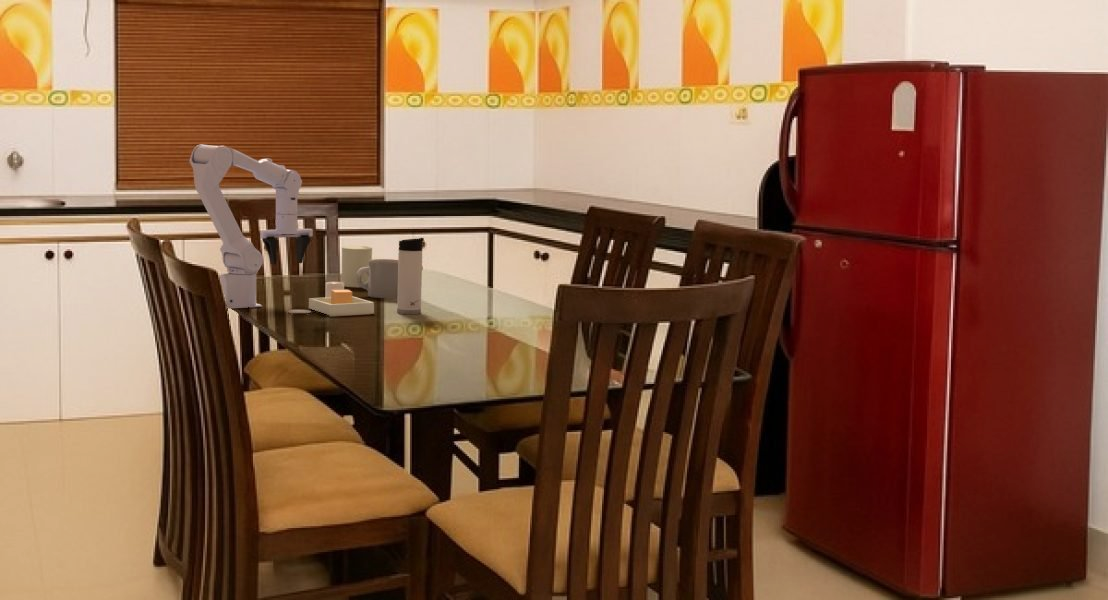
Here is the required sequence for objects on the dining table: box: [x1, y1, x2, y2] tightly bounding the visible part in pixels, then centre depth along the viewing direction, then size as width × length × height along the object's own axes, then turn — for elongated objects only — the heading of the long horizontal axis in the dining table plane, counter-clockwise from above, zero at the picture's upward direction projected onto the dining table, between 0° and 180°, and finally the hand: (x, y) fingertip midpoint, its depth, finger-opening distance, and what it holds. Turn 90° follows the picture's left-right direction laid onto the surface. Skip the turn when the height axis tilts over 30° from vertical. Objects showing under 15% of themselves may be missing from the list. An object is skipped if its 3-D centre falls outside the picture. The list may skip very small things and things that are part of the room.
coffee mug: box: [356, 258, 398, 299], centre depth 396 cm, size 13×10×10 cm
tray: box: [308, 295, 375, 317], centre depth 363 cm, size 13×13×3 cm
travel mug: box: [396, 237, 425, 315], centre depth 365 cm, size 6×7×20 cm
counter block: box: [331, 289, 353, 304], centre depth 363 cm, size 4×4×5 cm
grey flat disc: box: [287, 309, 312, 313], centre depth 359 cm, size 6×6×1 cm
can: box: [340, 245, 373, 288], centre depth 416 cm, size 9×9×12 cm
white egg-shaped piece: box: [324, 281, 345, 298], centre depth 375 cm, size 5×5×6 cm
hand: (286, 263), depth 376 cm, fingers open, 7 cm apart
